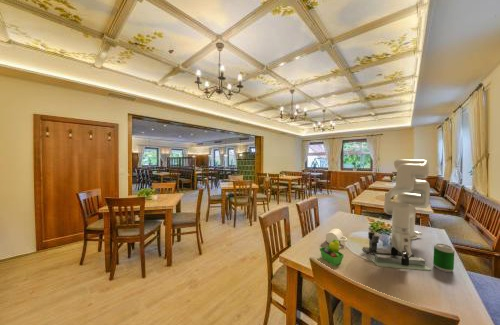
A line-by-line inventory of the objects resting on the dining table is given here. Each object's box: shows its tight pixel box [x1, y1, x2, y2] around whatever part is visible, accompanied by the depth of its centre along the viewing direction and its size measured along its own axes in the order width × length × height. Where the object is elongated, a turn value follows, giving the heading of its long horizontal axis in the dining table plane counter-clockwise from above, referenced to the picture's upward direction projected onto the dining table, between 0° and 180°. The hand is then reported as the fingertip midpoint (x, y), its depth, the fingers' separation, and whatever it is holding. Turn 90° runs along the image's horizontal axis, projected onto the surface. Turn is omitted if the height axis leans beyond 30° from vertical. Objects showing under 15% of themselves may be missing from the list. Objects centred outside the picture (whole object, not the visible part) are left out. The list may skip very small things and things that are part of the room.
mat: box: [370, 256, 432, 272], centre depth 106 cm, size 25×8×1 cm, turn 81°
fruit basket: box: [319, 239, 345, 266], centre depth 110 cm, size 11×9×11 cm
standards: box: [362, 231, 415, 257], centre depth 118 cm, size 25×6×11 cm, turn 81°
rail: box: [374, 254, 426, 266], centre depth 106 cm, size 23×3×3 cm, turn 81°
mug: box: [325, 228, 348, 245], centre depth 131 cm, size 12×10×8 cm
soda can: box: [432, 243, 455, 273], centre depth 102 cm, size 8×8×12 cm
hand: (399, 260), depth 106 cm, fingers open, 9 cm apart
